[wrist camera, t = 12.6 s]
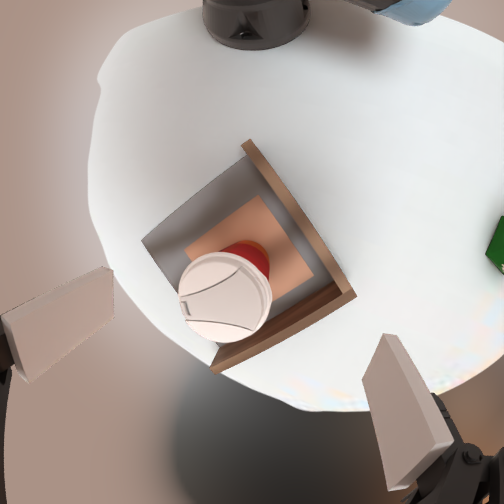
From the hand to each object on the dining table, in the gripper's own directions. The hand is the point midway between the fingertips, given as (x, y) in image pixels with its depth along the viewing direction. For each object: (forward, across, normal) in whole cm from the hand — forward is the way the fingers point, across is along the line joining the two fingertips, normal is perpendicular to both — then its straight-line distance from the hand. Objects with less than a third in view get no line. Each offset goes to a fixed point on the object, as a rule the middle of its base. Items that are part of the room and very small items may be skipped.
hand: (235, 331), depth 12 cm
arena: (+23, -4, -3) cm, 23 cm away
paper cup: (+22, -3, -3) cm, 23 cm away
